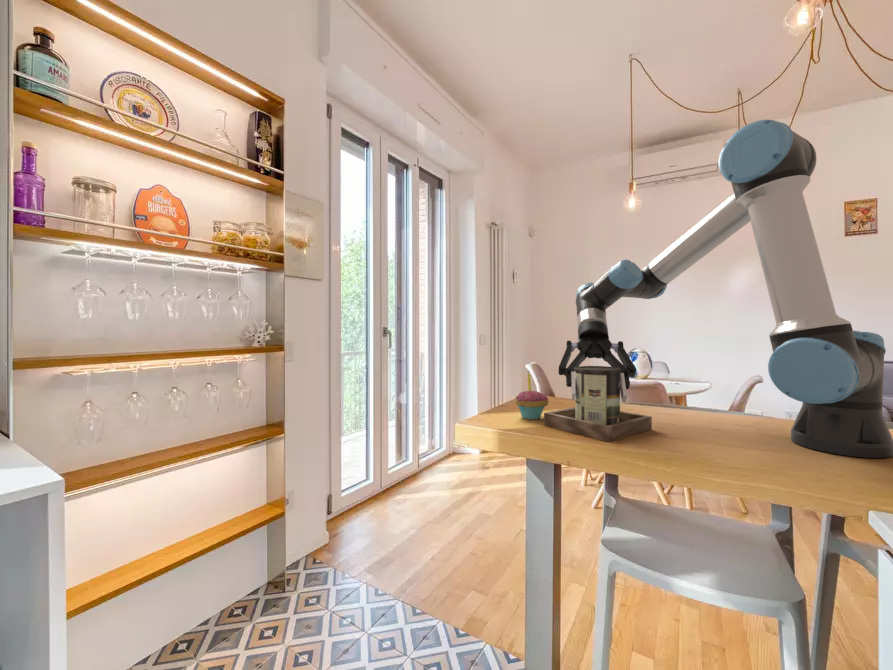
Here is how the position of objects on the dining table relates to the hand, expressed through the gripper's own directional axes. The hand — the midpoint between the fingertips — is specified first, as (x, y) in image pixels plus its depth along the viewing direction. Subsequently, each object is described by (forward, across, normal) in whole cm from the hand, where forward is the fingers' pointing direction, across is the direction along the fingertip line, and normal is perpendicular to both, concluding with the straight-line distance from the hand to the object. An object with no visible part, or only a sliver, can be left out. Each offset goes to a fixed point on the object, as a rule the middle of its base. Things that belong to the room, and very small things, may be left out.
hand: (598, 397), depth 96 cm
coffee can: (+3, 0, -8) cm, 8 cm away
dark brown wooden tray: (+3, 0, -7) cm, 8 cm away
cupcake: (-1, +16, -12) cm, 20 cm away
